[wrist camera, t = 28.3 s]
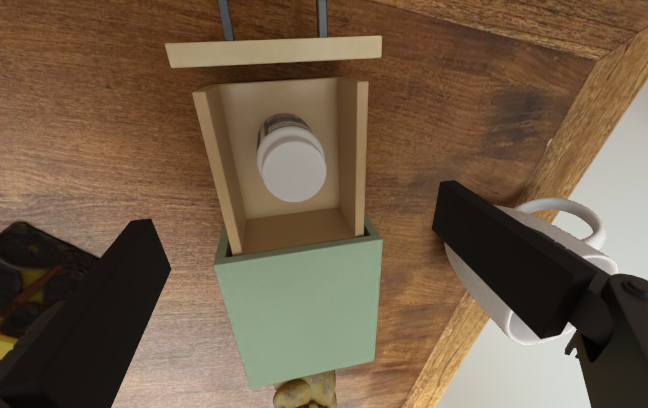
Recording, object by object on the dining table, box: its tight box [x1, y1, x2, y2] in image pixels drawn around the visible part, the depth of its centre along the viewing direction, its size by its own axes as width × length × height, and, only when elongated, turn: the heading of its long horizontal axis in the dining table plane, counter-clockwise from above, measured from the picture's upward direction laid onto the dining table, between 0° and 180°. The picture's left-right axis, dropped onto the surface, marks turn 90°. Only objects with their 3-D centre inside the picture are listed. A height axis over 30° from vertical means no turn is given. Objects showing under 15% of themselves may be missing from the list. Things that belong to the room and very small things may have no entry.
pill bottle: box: [256, 113, 326, 202], centre depth 20 cm, size 5×5×8 cm
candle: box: [0, 223, 99, 360], centre depth 23 cm, size 10×10×10 cm
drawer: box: [165, 0, 382, 256], centre depth 21 cm, size 21×12×7 cm, turn 3°
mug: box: [444, 197, 618, 345], centre depth 30 cm, size 15×11×13 cm
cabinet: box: [213, 212, 383, 389], centre depth 29 cm, size 17×14×9 cm
